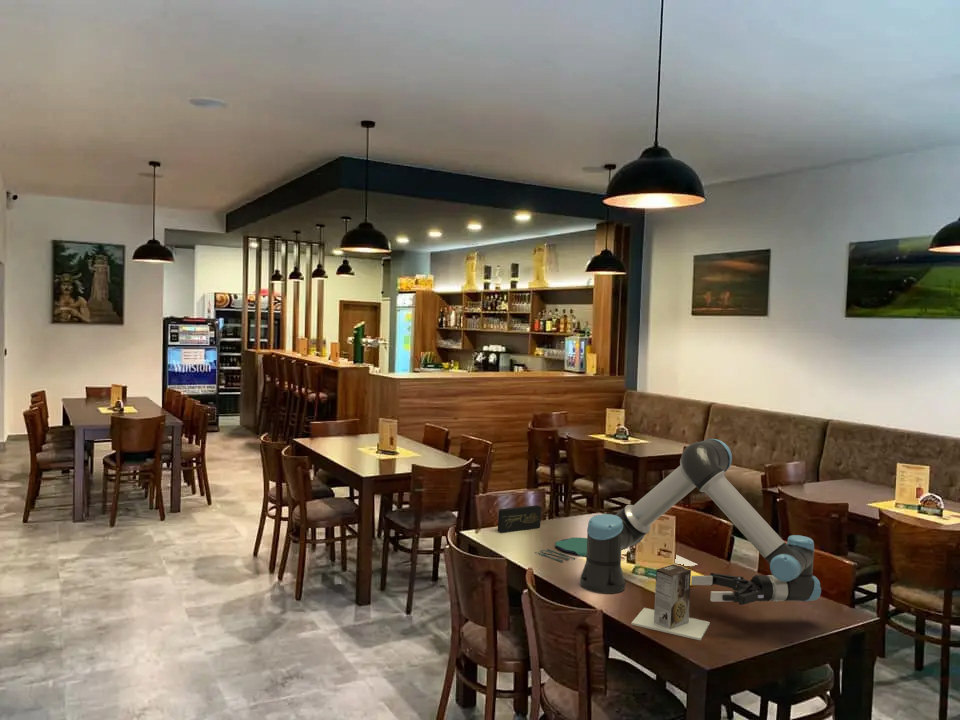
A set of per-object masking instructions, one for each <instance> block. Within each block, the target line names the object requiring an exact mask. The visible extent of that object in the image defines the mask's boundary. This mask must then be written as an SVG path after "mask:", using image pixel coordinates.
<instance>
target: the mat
mask: <svg viewBox="0 0 960 720" xmlns="http://www.w3.org/2000/svg"><path fill="white" fill-rule="evenodd" d="M710 624H711V622H710V621H707V620H702V619H698V618H694V617H689V622H688V623H685V624H682V625H680V626H677V627H675V628H672V629H669V628H667V627H664V626H662V625H660V624H657V623H655V622H654V609H652V608H647V607H643V609H641V611H640V612H638V615H636V617H635V618H634V619H633V620H632V621H631V625H632V626H637V627H641V628H645V629H647V630H649V629H650V630H653V631H658V632H662V633H667V634H670V635H675V636H679V637H683V638H688V639H693V640H696V641H702V639H703V638H704V635H705V634H706V632H707V630H708V628H709V626H710Z"/></svg>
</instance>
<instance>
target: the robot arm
mask: <svg viewBox="0 0 960 720" xmlns="http://www.w3.org/2000/svg"><path fill="white" fill-rule="evenodd" d="M732 463H733V455H732V452H731V449H730V447H729V445H727V443H725V442H724V441H722V440H720V439H715V438H707V439H705V440H701V441H696V442H693V443H691V444H689V445H687V446H686V447H685V449H684V450H683V452H682V454H681V457H680V460H679V464H680V465H679V466H678V467H677V468H675V469H674V470H673V471H672V472H670V474H668V475H667V476H666V477H665V478H664V479H662V480H661V481H659V483H658V484H657V485H655V486H654V488H653V487H652V489H651V490H650V491H648V492H647V493H646V494H645V495H644V496H643V497H641V498H640V499H639V500H638V501H637V502H636V503H634V504H627V505H626V506H625V507H623V508H622V509H621V510H619V511H618V512H617V513H616V514H610V513H609V514H607V513H603V514H596V515H594V516H592V517H590V519H589V520H588V523H587V529H586V530H587V531H586V532H587V533H586V534H587V536H586V538H587V554H586V555H585V556H586V560H585V563H584V567H583V569H582V571H581V574H580V577H579V584H580V587H581V588H583V589H585V590H588V591H590V592H594V593H599V594H616V593H617V594H618V593H621V592H623V591H624V590H625V587H626V586H625V585H626V580H625V576H624V573H623V570H622V569H623V568H622V565H621V563H622V551H624V550H625V549H629V548H630V547H633V546H635V545H637V544H639V543H640V542H641V541H642V540H643V539H644V538H645V536H646V535H647V534H648V533H649V532H651V525H652V524H653V523H654V522H655V521H657V520H658V519H659V518H660V517H662V516H663V515H664V514H665V513H666V512H668V511H669V510H670V509H671V508H672V507H674V506H675V505H676V504H677V503H678V502H680V501H681V500H682V499H684V497H686V496H687V495H688V494H689V493H691V492H692V491H693V490H694V489H695V488H697V489H698V491H699V492H701V493H705V494H706V495H708V497H709V498H710V499H711V500H712V501H713V502H714V504H715V505H716V506H717V507H718V508H719V510H720V511H722V512H723V514H724V515H725V516H726V517H727V518H728V519H729V520H730V521H731V522H732V524H733V525H734V526H735V527H736V528H737V529H738V530H739V532H740V533H741V534H742V535H743V536H744V537H745V538H746V539H747V540H748V541H749V542H750V544H751V545H752V546H753V547H754V548H755V549H756V550H757V552H758V553H759V554H760V555H761V556H762V557H763V558H764V559H765V560H766V562H768V564H769V569H770V572H771V574H768V575H763V574H761V575H760V574H757V575H753V576H752V578H751V579H750V580H748V579H744V576H742V575H741V576H737V575H728V574H721V573H714V572H710V575H691V582H690V586H691V585H692V586H711V587H713V586H714V585H717V586H721V587H726V588H729V589H732V590H733V591H727V590H726V591H722V590H721V591H712V590H711V591H710V598H709V599H710V602H713V603H715V602H721V603H722V602H732V603H733V602H734V603H738V605H740V606H742V605H743V606H744V605H749V604H751V603H755V602H775V603H778V602H812V601H817V600H818V599H819V598H820V597H821V594H822V587H821V582H820V580H819V579H818V578H817V577H816V576H815V575H813V571H814V557H815V551H816V550H815V542H814V540H813V539H812V538H811V537H808V536H803V535H799V534H796V535H795V534H793V535H789V536H788V537H787V541H786V542H785V540H783V538H782V537H781V536H780V535H779V534H778V533H777V532H776V531H775V530H774V529H773V528H772V526H770V524H769V523H768V522H767V521H766V520H765V519H764V518H763V517H762V516H761V515H760V514H759V512H758V511H757V510H756V509H755V508H754V507H753V506H752V505H751V503H750V502H748V501H747V499H745V497H744V496H743V495H742V494H741V493H740V492H739V491H738V489H736V487H734V485H732V483H730V481H729V480H728V479H727V478H726V476H725V472H727V471H728V470H729V469H730V467H731V465H732ZM623 549H624V550H623Z"/></svg>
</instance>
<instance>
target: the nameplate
mask: <svg viewBox="0 0 960 720" xmlns="http://www.w3.org/2000/svg"><path fill="white" fill-rule="evenodd" d="M541 518H542V507H541V506H540V505H527V506H518V507H507V508H501V509H499V510H498V518H497V519H498V520H497V521H498V522H497V531H498V533H501V534H505V533H512V532H513V533H514V532H521V531H529V530H537V529H538V528H539V529H540V528H541V522H542V521H541V520H542V519H541Z"/></svg>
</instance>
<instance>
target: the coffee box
mask: <svg viewBox="0 0 960 720" xmlns="http://www.w3.org/2000/svg"><path fill="white" fill-rule="evenodd" d="M655 572H656V573H655V591H654V609H653V610H654V622H655V623H657V624H660V625H662V626H664V627H667V628H669V629H672V628H675V627H677V626H680V625H682V624H685V623H688V622H689V618H690V602H691V598H690V597H691V578H692V570H691V569H689V568H687V567H682V566H680V565H678V564H675V563H673V564H670V565H667V566H663V567H660V568H657V569H656V570H655Z"/></svg>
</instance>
